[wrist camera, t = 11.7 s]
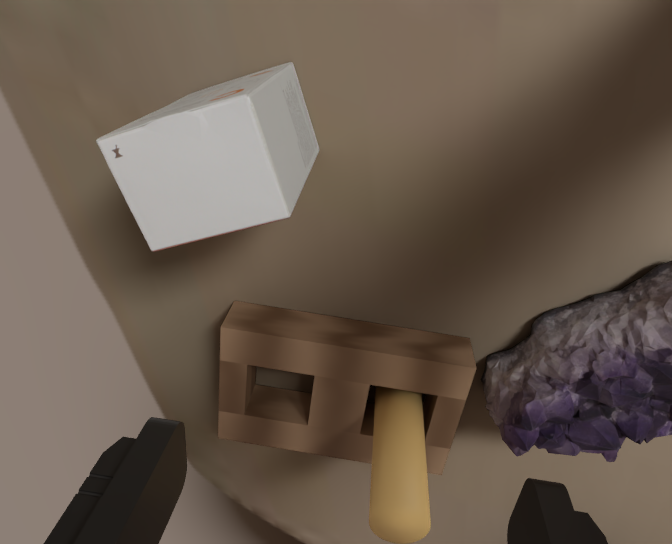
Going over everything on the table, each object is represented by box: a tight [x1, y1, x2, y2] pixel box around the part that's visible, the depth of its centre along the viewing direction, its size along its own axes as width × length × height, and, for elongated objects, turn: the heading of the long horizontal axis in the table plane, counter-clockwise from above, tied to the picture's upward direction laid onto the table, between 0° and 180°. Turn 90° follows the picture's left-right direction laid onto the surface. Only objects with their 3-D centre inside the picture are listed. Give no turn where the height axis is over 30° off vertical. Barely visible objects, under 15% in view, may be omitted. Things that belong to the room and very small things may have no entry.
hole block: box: [218, 301, 477, 475], centre depth 44 cm, size 20×12×4 cm, turn 83°
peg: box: [369, 386, 431, 544], centre depth 40 cm, size 4×4×14 cm
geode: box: [481, 261, 672, 462], centre depth 38 cm, size 20×12×10 cm, turn 124°
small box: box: [96, 62, 319, 251], centre depth 31 cm, size 8×6×13 cm
